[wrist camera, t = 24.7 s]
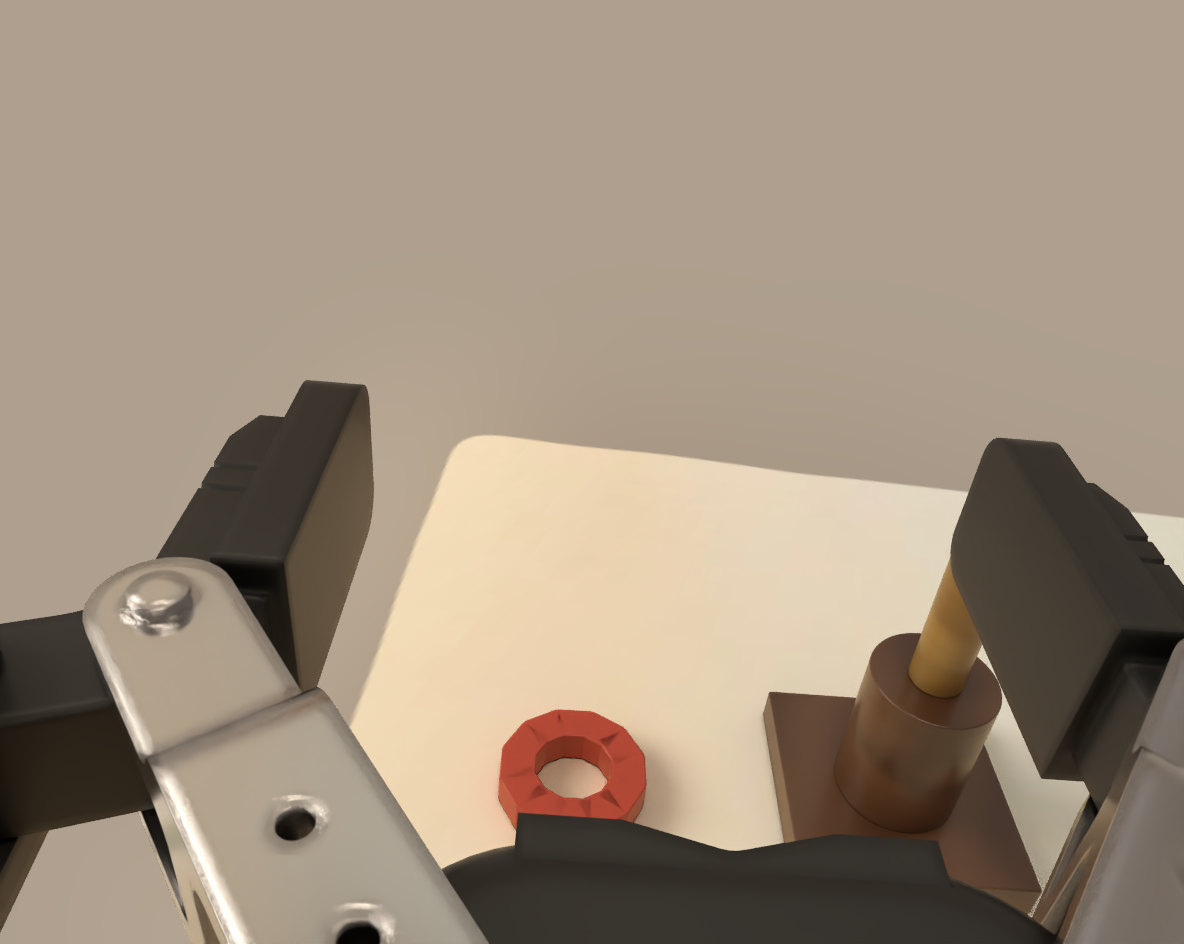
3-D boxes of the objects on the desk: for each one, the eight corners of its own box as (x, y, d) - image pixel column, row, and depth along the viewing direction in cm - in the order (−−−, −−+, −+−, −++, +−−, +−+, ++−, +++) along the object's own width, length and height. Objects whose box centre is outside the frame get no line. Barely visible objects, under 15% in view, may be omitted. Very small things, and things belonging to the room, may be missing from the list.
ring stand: (959, 727, 44) (1080, 452, 36) (1029, 914, 37) (1203, 622, 28) (762, 713, 44) (837, 432, 35) (793, 899, 36) (897, 599, 28)
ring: (639, 735, 42) (643, 713, 41) (644, 854, 37) (649, 832, 37) (505, 728, 42) (506, 705, 41) (493, 847, 37) (494, 824, 36)
